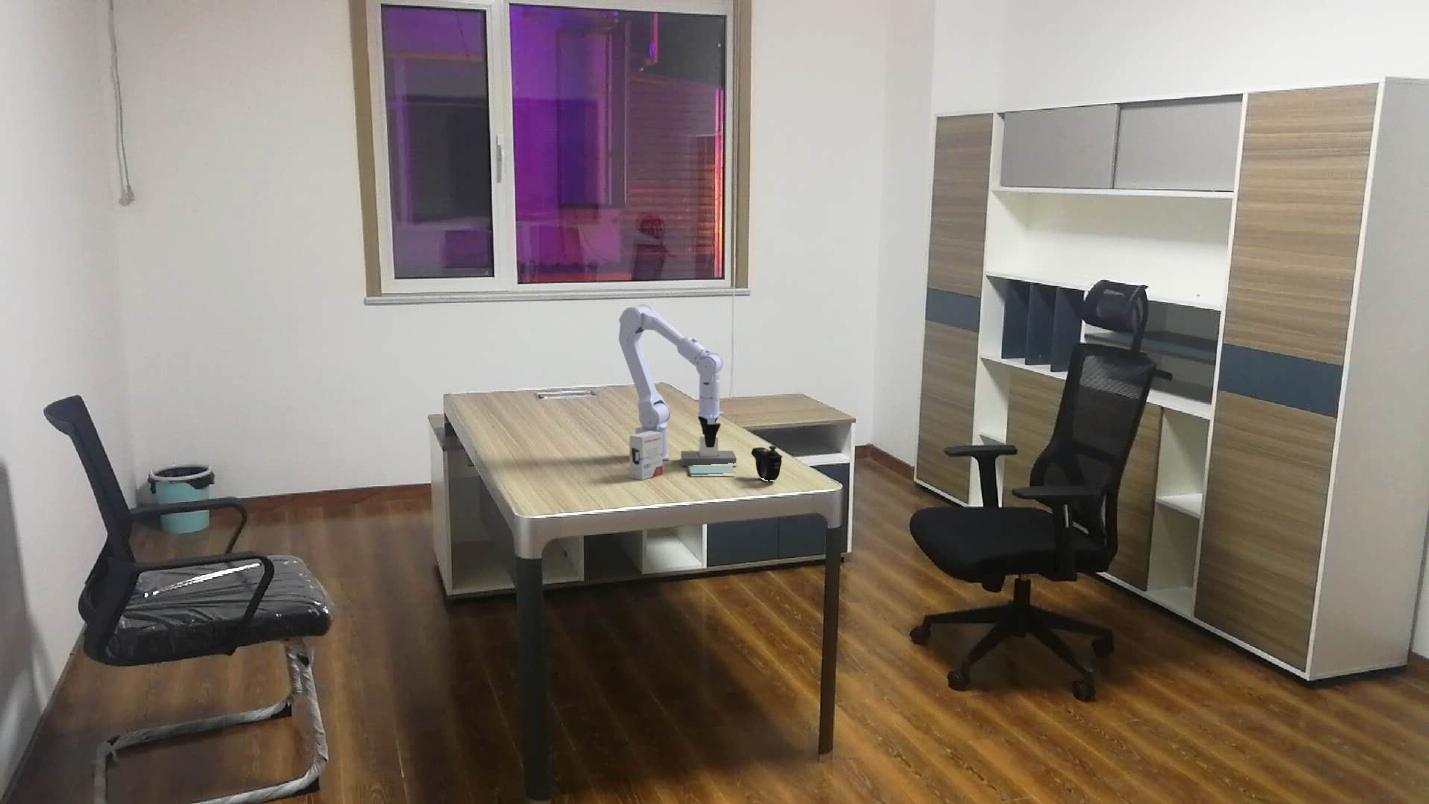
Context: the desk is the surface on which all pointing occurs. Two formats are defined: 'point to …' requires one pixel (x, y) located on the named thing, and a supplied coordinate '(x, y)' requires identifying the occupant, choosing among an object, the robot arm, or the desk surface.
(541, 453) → the desk surface
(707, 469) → the mat
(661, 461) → the ink box
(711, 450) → the plug
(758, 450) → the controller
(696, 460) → the grey board with hole
